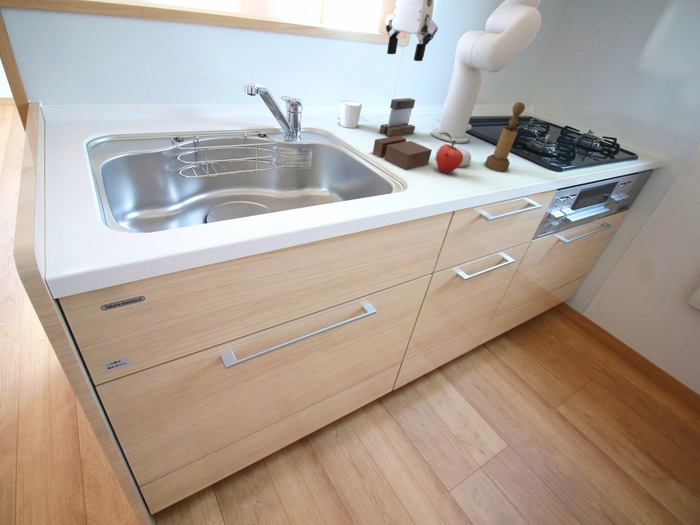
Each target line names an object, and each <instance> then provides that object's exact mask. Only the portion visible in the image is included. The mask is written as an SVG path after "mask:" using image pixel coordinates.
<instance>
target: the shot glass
mask: <svg viewBox="0 0 700 525" xmlns="http://www.w3.org/2000/svg"><path fill="white" fill-rule="evenodd" d="M362 108H363V105H362V103H360V102H358V101H353V100H342V101H340V119H339V120H340V122H339V124H340V126H342V127H344V128H347V129H356V128H357V127H358V124H359V120H360V116H361V111H362Z"/></svg>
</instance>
